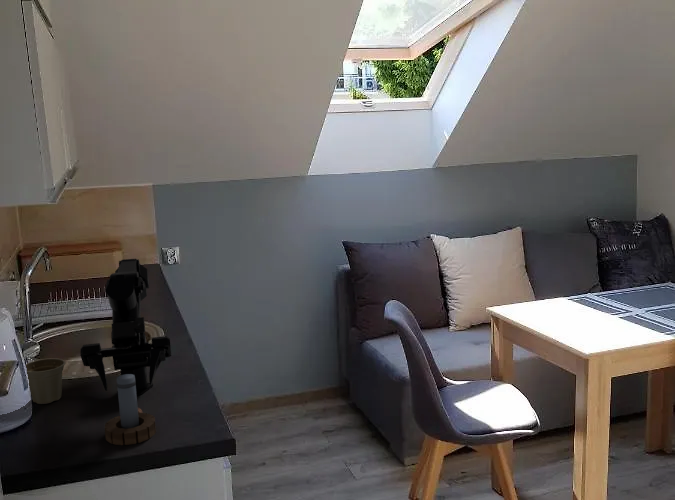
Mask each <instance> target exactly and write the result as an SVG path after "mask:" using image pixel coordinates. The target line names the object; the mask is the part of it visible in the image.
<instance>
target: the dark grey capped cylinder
mask: <svg viewBox="0 0 675 500" xmlns="http://www.w3.org/2000/svg"><path fill="white" fill-rule="evenodd" d="M116 387H117V391H118V393H117V397H118V408H119V416H120V419H121V428H122V429H128V428H134V427H137V426H139V416H138V408H139V407H138V399H137V398H138V395H136V381H135V375H133V374H124V375H121V374H120V375H119V376H117V377H116Z"/></svg>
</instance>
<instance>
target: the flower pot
mask: <svg viewBox="0 0 675 500" xmlns="http://www.w3.org/2000/svg"><path fill="white" fill-rule="evenodd" d="M25 365H26V367H27V374H28V379H29V383H28V387H29V386H30V387H29V390H30V394H31V398H32V401H33V403H36V404H37V405H44V404H51V403H53V402H55V401H57V402H58V401H59V400H60V399H61V398H62V389H63V384H62V383H63V372H64V367H65V365H66V360H64V359H63V358H58V357H55V358H50V357H49V358H42V359H36V360H34V361H30V362H27V363H26V364H25Z"/></svg>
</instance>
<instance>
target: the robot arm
mask: <svg viewBox="0 0 675 500" xmlns="http://www.w3.org/2000/svg"><path fill="white" fill-rule="evenodd" d="M149 279H150V278H149V272H148V268H147V267H145V266H143V264H141V263H140V259H137V258H128V259H125V258H124V259H121V260H118V267H117V269H116V270H115V271H114V272H113V273H110V275H109V279H106V282H105V283H106V284H105V289H104V291H105V292H104V293H105V295H106V296H107V299H108V303H109V306H110V308H111V313H112V314H111V315H112V316H111V317H112V323H111V339H110V340H111V345H112V346H111V347H106V348H105V347H104V348H101V343H100V342H98V343H87V344H83V345H82V346H81V347H80V358H81V362H82V364H83V366H84V367H89V368H90V370H95V371H96V373H97V375H98V376H99V379H100V381H101V382H102V383H101V384H102V386H103V389H104V391H105V392H106V391H108V381H107V375H106V370H105V364H104V361H103V359H105V358H111V357H112V361H113V362H112V363H113V368H114V371H119V370H120V371H119V372H120V376H121V375H124V374H133V375H135V381H136V395H137V396H141V395H143V394H144V393H145V392H147V391H148V390H149V389H150V388H152V387H153V386H154V380H155V377H156V374H157V370H158V369H159V366H160V365H161V363H163V362H165V361H166V358H170V357H172V350H171V349H172V348H171V338H170V337H169V335H162V336H156V337H155V336H154V337H151V343H150V342H149V341H147V339H146V338H147V337H146V336H147V335H146V333H145V332H146V324H145V317H144V316H142V315H141V311H142V310H141V309H142V308H141V306H142V305H141V303H142V301H143V300H144V299H145V298H146V297H147V296H148V289H150V280H149ZM141 316H142V317H141ZM147 367H148V368H149V372H148V373H149V375H148V373H147ZM148 379H149V382H148ZM116 394H118V390H116Z"/></svg>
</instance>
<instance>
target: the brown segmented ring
mask: <svg viewBox="0 0 675 500" xmlns="http://www.w3.org/2000/svg"><path fill="white" fill-rule="evenodd" d="M138 416H139V426H137V427H134V428H128V429H122V428H121V419H120V415H118V416H115V417H113V418H111V419H109V420H108V421H107V422H105V424H104V435H105V440H106V442H108V443H109V444H111V445H112V444H113V445H116V446H124V445H125V446H128V445H129V446H131V445H137V443H138V444H140V443H142V442H145V441H147V440H149V439H151V438H152V437H153V436H155V434H156V433H157V428H156V417H155V416H154V415H152V414H150V413H147V412H143V413H139V412H138Z"/></svg>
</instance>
